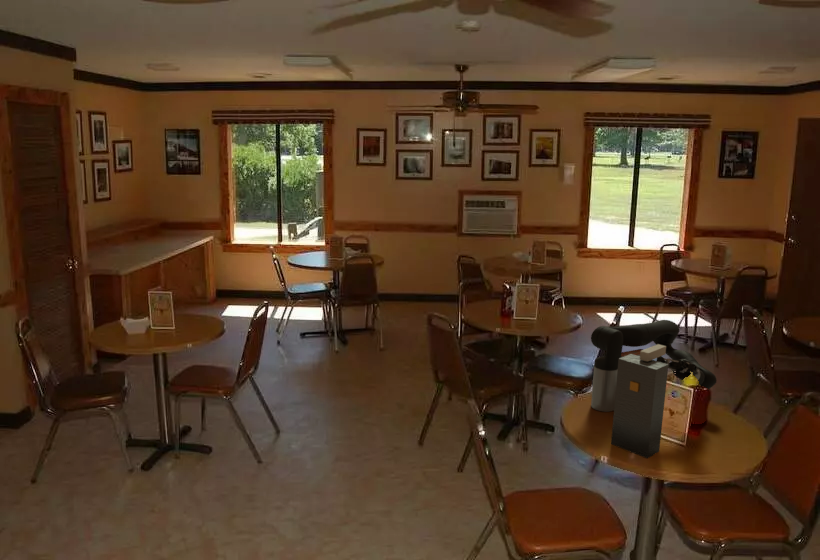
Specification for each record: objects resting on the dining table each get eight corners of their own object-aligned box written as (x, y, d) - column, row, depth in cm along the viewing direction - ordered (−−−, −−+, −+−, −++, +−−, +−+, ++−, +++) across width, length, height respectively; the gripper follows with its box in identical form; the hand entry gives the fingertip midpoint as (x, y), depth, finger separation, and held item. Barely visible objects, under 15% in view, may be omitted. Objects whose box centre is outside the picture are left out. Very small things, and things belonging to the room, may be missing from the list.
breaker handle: (657, 352, 235) (658, 344, 234) (665, 354, 233) (666, 346, 232) (639, 359, 227) (640, 351, 226) (647, 361, 225) (648, 353, 224)
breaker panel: (623, 437, 241) (630, 353, 234) (659, 451, 230) (668, 364, 223) (610, 444, 235) (617, 358, 228) (646, 459, 225) (655, 370, 218)
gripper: (671, 358, 256) (653, 346, 245) (708, 366, 246) (691, 354, 235) (665, 377, 255) (648, 366, 244) (702, 385, 245) (686, 374, 234)
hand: (669, 360), depth 239 cm, fingers open, 8 cm apart
